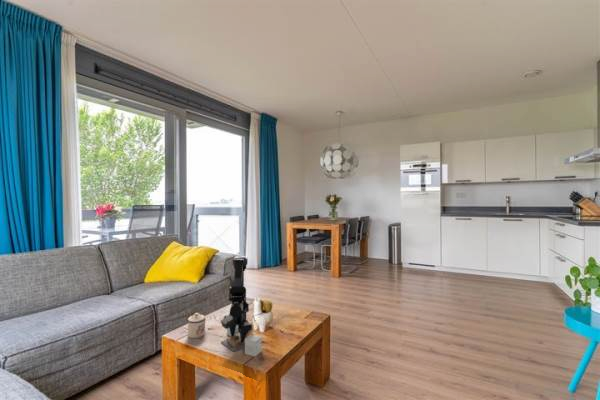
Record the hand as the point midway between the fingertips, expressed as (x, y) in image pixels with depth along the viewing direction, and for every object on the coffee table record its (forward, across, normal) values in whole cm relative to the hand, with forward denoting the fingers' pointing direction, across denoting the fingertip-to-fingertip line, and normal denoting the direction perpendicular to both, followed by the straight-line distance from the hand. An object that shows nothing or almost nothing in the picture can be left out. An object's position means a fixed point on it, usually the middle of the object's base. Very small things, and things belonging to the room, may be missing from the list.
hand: (237, 339), depth 150 cm
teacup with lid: (+2, -24, -10) cm, 26 cm away
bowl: (+2, -11, +4) cm, 12 cm away
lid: (+1, 0, 0) cm, 1 cm away
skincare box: (+2, +13, +1) cm, 13 cm away
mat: (+2, 0, 0) cm, 2 cm away
